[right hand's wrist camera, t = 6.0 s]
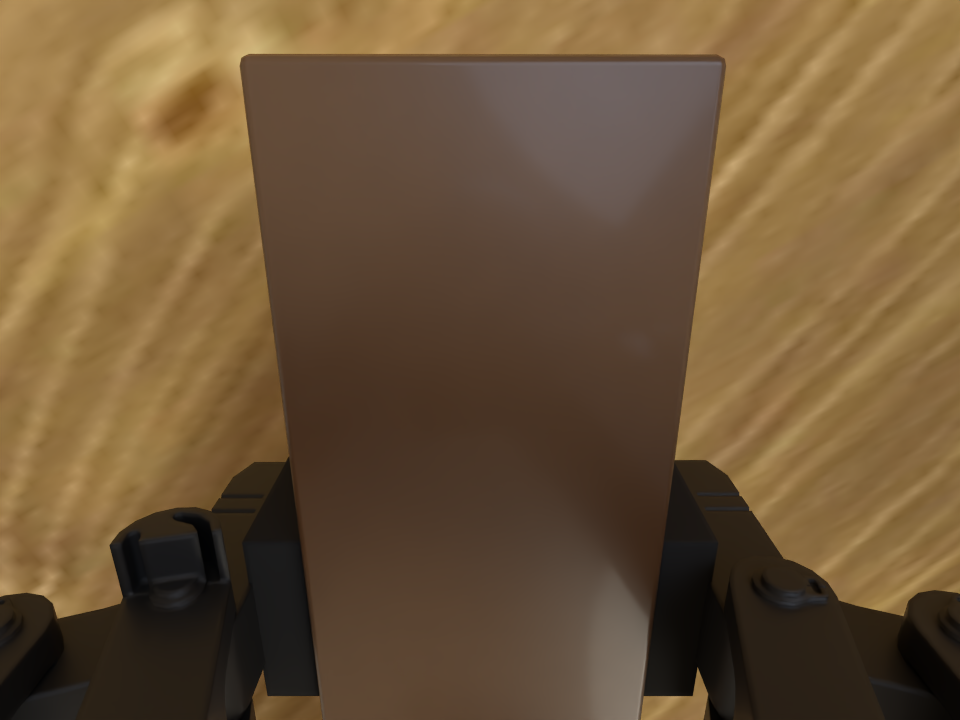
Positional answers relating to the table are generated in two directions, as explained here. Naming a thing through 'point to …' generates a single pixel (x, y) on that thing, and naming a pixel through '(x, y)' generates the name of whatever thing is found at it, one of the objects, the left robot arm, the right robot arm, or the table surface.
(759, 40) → the table surface
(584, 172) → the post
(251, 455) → the table surface
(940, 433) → the table surface
